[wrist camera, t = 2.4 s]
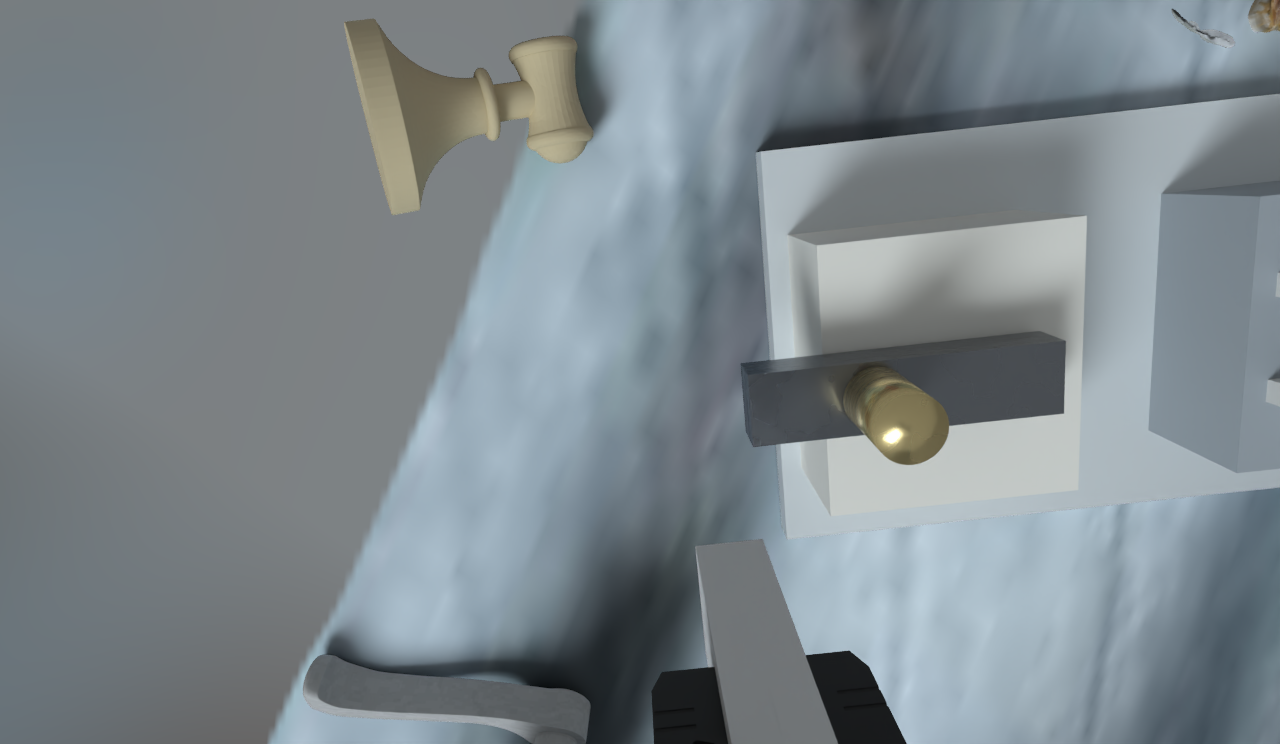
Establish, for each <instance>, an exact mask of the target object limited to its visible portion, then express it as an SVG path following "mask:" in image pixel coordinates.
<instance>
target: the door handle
mask: <svg viewBox="0 0 1280 744" xmlns="http://www.w3.org/2000/svg"><path fill="white" fill-rule="evenodd" d="M303 695H304V698H305V700H306V702H307V703H308V704H309V706H310V707H311V708H312V709H315V710H318V711H321V712H324V713H327V714H331V715H336V716H343V717H358V718H373V719H394V720H420V721H440V722H460V723H476V724H484V725H490V726H495V727H499V728H503V729H506V730H509V731H512V732H514V733H516V734H518V735H520V736H521V737H523V738H525V739H526V740H528V741H529V742H530V743H532V744H586V740H587V732H588V723H589V715H590V707H591V706H590V702H589V701H588V700H587V699H586V698H585V697H584V696H583V695H581V694H579V693H577V692H574V691H572V690H568V689H561V688H553V689H549V688H542V687H534V686H527V685H519V684H511V683H503V682H494V681H485V680H475V679H464V678H450V677H433V676H419V675H408V674H397V673H387V672H380V671H375V670H371V669H368V668H364V667H361V666H358V665H354V664H351V663H348V662H346V661H344V660H342V659H340V658H338V657H337V656H333V655H320V656H318V657H317V658H316V659H315V660H314V661H313V663H312V664H311V666H310V668H309V670H308V672H307V674H306V677H305V680H304V685H303Z"/></svg>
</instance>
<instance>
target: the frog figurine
mask: <svg viewBox="0 0 1280 744" xmlns="http://www.w3.org/2000/svg"><path fill="white" fill-rule="evenodd" d="M1172 14H1173V16H1174V18H1176V20H1177V21H1178V22H1180V23H1181V24H1182V25H1184V26H1185V27H1186V28H1188V29H1189V30H1190V31H1192V32H1194V33H1196V34H1199V35H1200V37H1201V38H1202V39H1203V40H1204V41H1206V42H1209V43H1212V44H1216V45H1220V46H1223V47H1225V48H1231V47H1233V46H1234V45H1235V41H1234V39H1233V37H1231V36H1230V35H1228V34H1225V33H1222V32H1220V31H1217V30H1201V31H1200V29H1199V27H1198V24H1197V23H1196V22H1193V21H1190V22H1188V21H1187V20H1185V19H1183V17H1181V16H1180V14H1179V13H1178V12H1177V11H1176V10H1174V9H1172ZM1248 19H1249V23H1250V26H1251V28H1252V30H1253V31H1254V32H1256V33H1258V32H1270V31H1280V0H1255V1H1254V3H1253V4H1252V6H1251V9H1250V11H1249V15H1248Z"/></svg>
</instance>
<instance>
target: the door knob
mask: <svg viewBox="0 0 1280 744" xmlns="http://www.w3.org/2000/svg"><path fill="white" fill-rule="evenodd" d="M344 26H345V31H346V37H347V41H348V46H349V50H350V55H351V60H352V64H353V68H354V73H355V77H356V81H357V85H358V89H359V94H360V98H361V102H362V106H363V110H364V114H365V118H366V122H367V126H368V130H369V134H370V138H371V141H372V145H373V150H374V153H375V157H376V161H377V165H378V169H379V172H380V176H381V180H382V183H383V187H384V190H385V194H386V198H387V201H388V204H389V207H390V210H391V213H392V215H396V214H401V213H407V212H412V211H417V210H420V206H421V200H422V195H423V190H424V187H425V184H426V181H427V179H428V177H429V175H430V173H431V171H432V170H433V168H434V166H435V165H436V164H437V162H438V161H439V160H440V159H441V158H442V156H444V154H446V153H447V152H448V151H449V150H450V149H451V148H453V147H454V146H455V145H457V144H459V143H460V142H462V141H464V140H466V139H468V138H471V137H474V136H477V135H482V134H485V135H486V137H487V138H488V139H489V140H491V141H495V140H497V139H498V138H499V135H500V122H502V121H509V120H515V119H521V118H528V117H529V134H528V138H527V146H528V147H529V148H530V149H531V150H533V151H537V152H538V154H539V155H540V156H542V157H543V158H544V159H546V160H548V161H550V162H554V163H566V162H570V161H572V160H574V159H576V158H577V157H578V156H579V155H580V154H581V153H582V152H583V150H584V149H585V146H586V144H587V141H589V140H591V139H592V137H593V129H592V128H591V126H589V124H588V122H587V120H586V118H585V115H584V113H583V110H582V108H581V104H580V101H579V97H578V93H577V87H576V79H575V57H576V52H577V43H576V41H575V40H574V39H573V38H571V37H568V36H550V37H542V38H537V39H532V40H528V41H525V42H522V43H519V44H517V45H515V46H514V47H513V48H511V50H510V52H509V59H510V61H511V62H512V64H514V66H515V68H516V70H517V72H518V74H519V76H520V79H521V81H517V82H510V83H503V84H496V85H493V83H492V81H491V78H490V76H489V74H488V72H487V71H486V70H485V69H483V68H478V69H476V71H475V73H474V78H453V77H447V76H442V75H439V74H436V73H433V72H431V71H428V70H426V69H424V68H422V67H420V66H418V65H417V64H415V63H414V62H412V61H411V60H409V59H408V58H407V57H406V56H405V55H403V54H402V53H401V52H400V51H399V50H398V49H397V48H396V47H395V46H394V45H393V44H392V43H391V41H390V40H389V39H388V38H387V37H386V35H385V34H384V32H383V31H382V29H381V28H380V26H379V25H378V23H377V22H376V20H375V19H366V20H357V21H348V22H344Z"/></svg>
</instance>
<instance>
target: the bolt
mask: <svg viewBox="0 0 1280 744" xmlns="http://www.w3.org/2000/svg"><path fill="white" fill-rule="evenodd" d="M1065 358H1066V341H1065V340H1063V339H1060V338H1057V337H1055V336H1052V335H1049V334H1047V333H1044V332H1041V331H1034V332H1025V333H1016V334H1007V335H997V336H988V337H979V338H970V339H961V340H951V341H942V342H933V343H924V344H915V345H905V346H896V347H887V348H878V349H869V350H859V351H850V352H841V353H832V354H823V355H813V356H804V357H795V358H786V359H777V360H767V361H758V362H749V363H741V376H742V388H743V401H744V414H745V426H746V433H747V435H748V437H749V439H750V441H751V443H752V445H753V447H758V446H768V445H777V444H786V443H796V442H805V441H814V440H823V439H833V438H842V437H851V436H861V435H865V436H866V437H867V438H868V439H869V440H870V441H871V442H872V443H873V444H874V445H875V446H876V448H877V449H878V450H879V451H880V452H881V453H882V454H883V455H884V456H885V457H886V458H888V459H889V460H891V461H893V462H895V463H898V464H902V465H915V464H919V463H922V462H925V461H927V460H929V459H931V458H932V457H933V456H935V455H936V454H937V453H938V452H939V451H940V450H941V448H942V447H943V445H944V444H945V442H946V440H947V437H948V433H949V426H954V425H963V424H972V423H982V422H991V421H1000V420H1010V419H1019V418H1028V417H1037V416H1047V415H1056V414H1064V395H1065Z"/></svg>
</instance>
